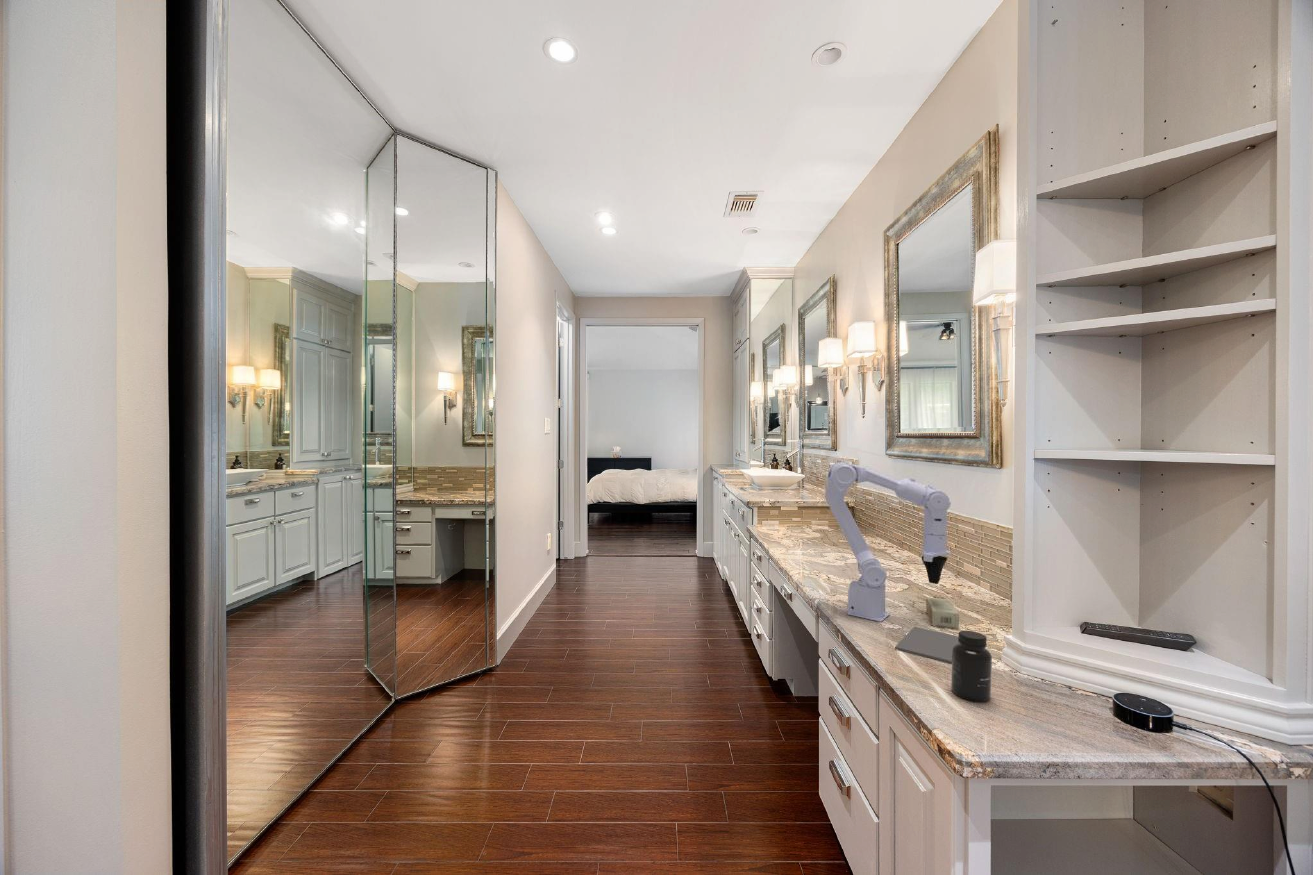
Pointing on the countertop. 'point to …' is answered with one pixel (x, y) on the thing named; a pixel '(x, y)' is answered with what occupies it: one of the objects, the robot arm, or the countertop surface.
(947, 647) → the mat
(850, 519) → the robot arm
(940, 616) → the skincare box
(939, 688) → the countertop surface
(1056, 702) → the countertop surface
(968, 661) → the supplement bottle
